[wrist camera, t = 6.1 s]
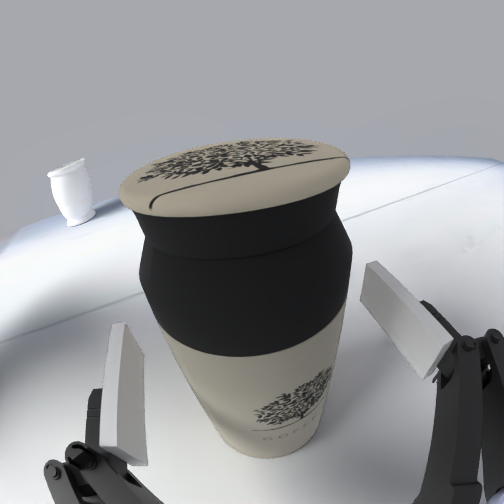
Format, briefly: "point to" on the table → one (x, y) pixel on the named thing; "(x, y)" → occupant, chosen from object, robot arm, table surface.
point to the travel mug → (248, 280)
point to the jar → (73, 192)
